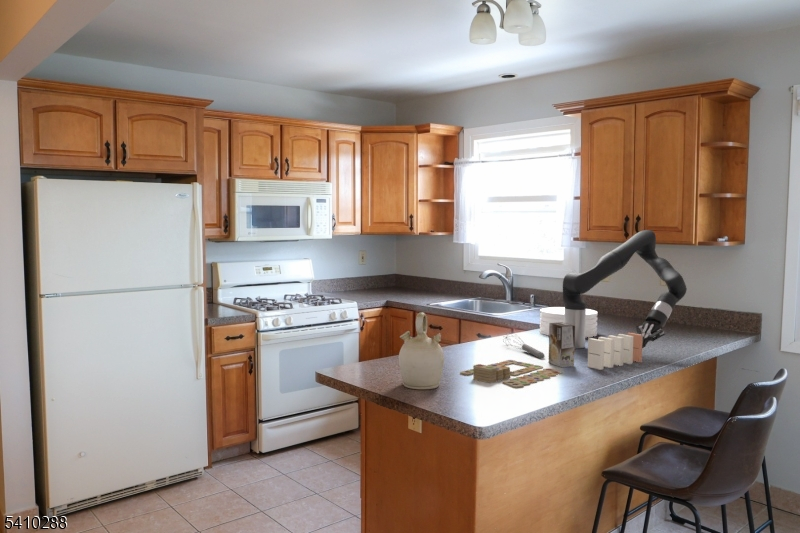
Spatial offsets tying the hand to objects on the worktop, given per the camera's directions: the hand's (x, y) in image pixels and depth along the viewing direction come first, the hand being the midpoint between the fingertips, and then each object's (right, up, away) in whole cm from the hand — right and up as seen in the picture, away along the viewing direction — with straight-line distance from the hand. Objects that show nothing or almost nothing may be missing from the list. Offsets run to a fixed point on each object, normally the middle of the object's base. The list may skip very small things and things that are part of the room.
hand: (640, 346), depth 261 cm
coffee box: (-35, -6, -10) cm, 37 cm away
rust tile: (-3, -5, -2) cm, 7 cm away
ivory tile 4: (-23, -6, -15) cm, 28 cm away
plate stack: (-13, -1, +62) cm, 63 cm away
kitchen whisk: (-44, -4, +15) cm, 47 cm away
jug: (-91, -8, -44) cm, 102 cm away
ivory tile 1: (-8, -6, -5) cm, 11 cm away
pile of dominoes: (-57, -8, -26) cm, 63 cm away
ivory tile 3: (-18, -6, -12) cm, 23 cm away
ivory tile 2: (-13, -6, -9) cm, 17 cm away
